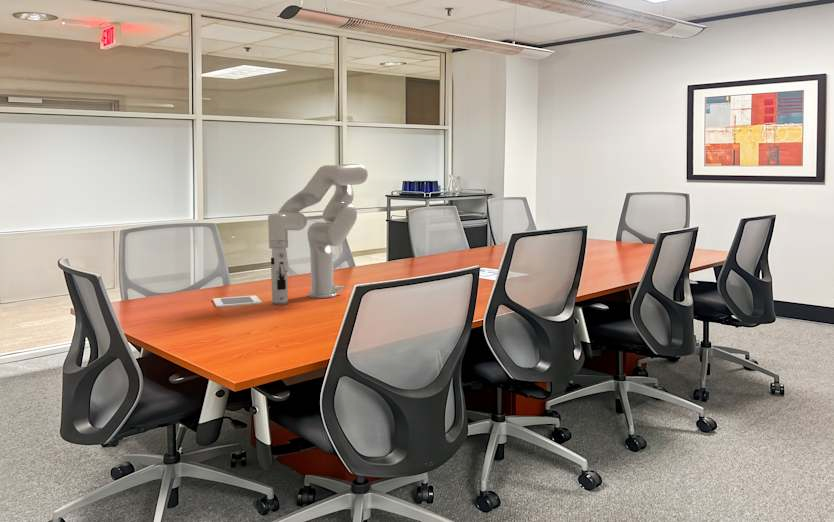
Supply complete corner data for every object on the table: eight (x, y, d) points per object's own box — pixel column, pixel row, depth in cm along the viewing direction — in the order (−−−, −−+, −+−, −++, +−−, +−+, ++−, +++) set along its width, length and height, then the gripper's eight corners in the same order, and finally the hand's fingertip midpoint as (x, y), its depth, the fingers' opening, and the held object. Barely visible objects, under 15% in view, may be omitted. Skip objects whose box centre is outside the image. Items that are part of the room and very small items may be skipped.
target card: (255, 296, 311) (255, 295, 311) (262, 303, 297) (262, 302, 296) (212, 300, 305) (212, 298, 305) (216, 307, 290) (216, 305, 290)
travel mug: (285, 305, 293) (283, 256, 290) (270, 305, 294) (268, 256, 291) (291, 302, 299) (289, 254, 296) (275, 301, 300) (274, 253, 297)
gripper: (292, 246, 286) (293, 291, 289) (283, 241, 302) (285, 283, 305) (272, 247, 283) (274, 292, 286) (265, 242, 299) (267, 285, 302)
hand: (280, 287), depth 295 cm, fingers closed on travel mug, 6 cm apart
